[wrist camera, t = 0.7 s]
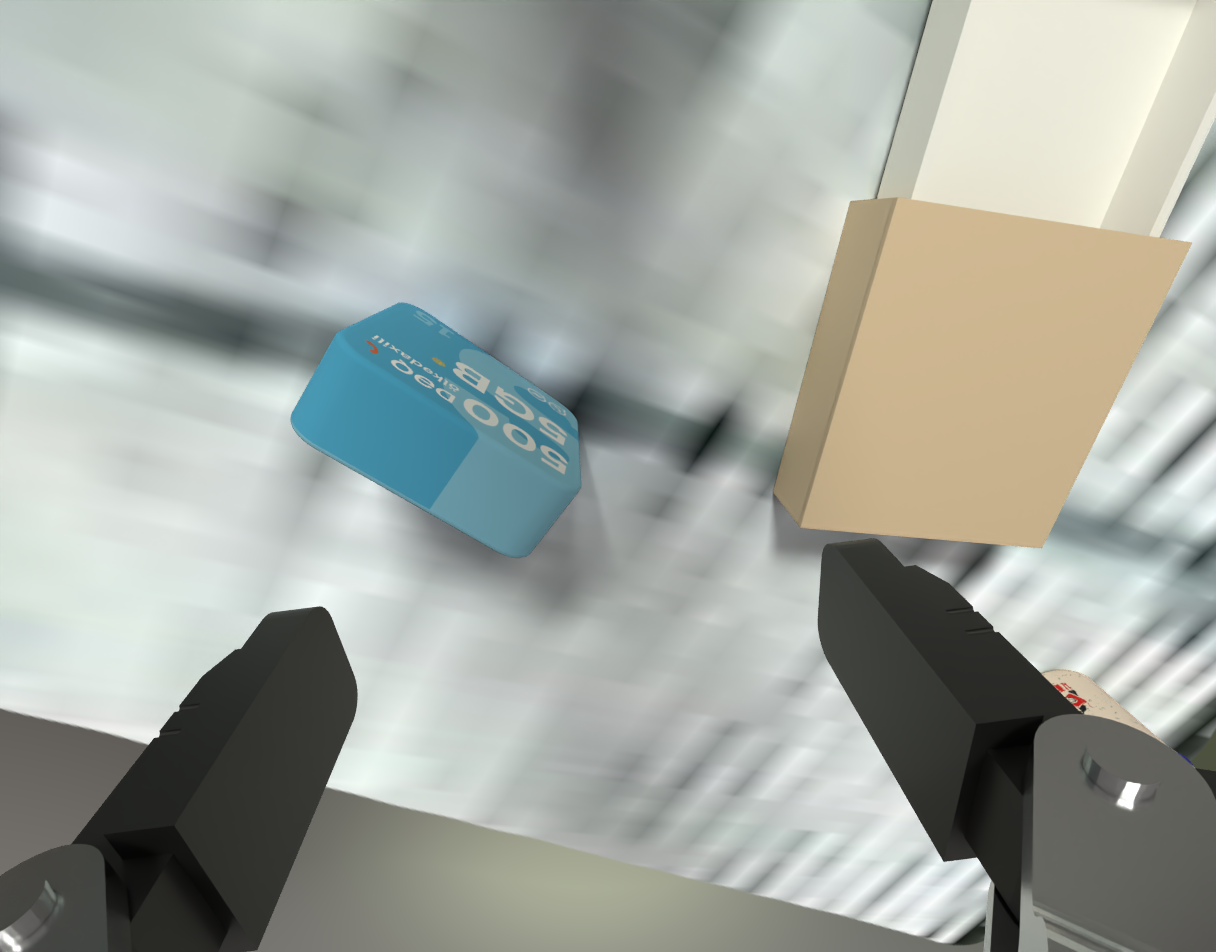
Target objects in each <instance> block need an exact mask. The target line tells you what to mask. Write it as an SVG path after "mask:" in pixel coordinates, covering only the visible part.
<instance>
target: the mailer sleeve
mask: <svg viewBox="0 0 1216 952" xmlns="http://www.w3.org/2000/svg"><path fill="white" fill-rule="evenodd" d="M1191 244H1192V243H1190V242H1184V241H1177V240H1171V239H1165V238H1158V237H1152V236H1145V235H1139V234H1132V233H1126V232H1119V231H1113V230H1106V229H1100V228H1093V227H1087V226H1081V225H1074V224H1068V223H1061V222H1055V221H1048V220H1042V219H1035V218H1029V217H1022V216H1016V215H1009V214H1003V213H997V212H990V211H984V210H977V209H971V208H964V207H958V206H951V205H945V204H938V203H932V202H925V201H919V200H912V199H906V198H900V197H895V198H882V199H870V200H857V201H851V202H850V205H849V209H848V213H847V217H846V220H845V224H844V228H843V232H842V235H841V239H840V243H839V247H838V250H837V254H836V258H835V262H834V265H833V269H832V273H831V277H830V280H829V284H828V288H827V292H826V295H825V299H824V303H823V307H822V310H821V314H820V318H819V322H818V325H817V329H816V333H815V337H814V340H813V344H812V348H811V352H810V355H809V359H808V363H807V367H806V370H805V374H804V378H803V382H802V385H801V389H800V393H799V397H798V400H797V404H796V408H795V412H794V415H793V419H792V423H791V427H790V430H789V434H788V438H787V442H786V445H785V449H784V453H783V457H782V460H781V464H780V468H779V472H778V475H777V479H776V483H775V487H774V490H773V493H774V494H775V495H776V497H777V498H778V499H779V501H780V502H781V503H782V505H783V506H784V507H785V508H786V510H787V511H788V512H789V514H790V515H791V516H792V518H793V519H794V520H795V522H796V523H797V524H798V525H799V527H800V528H807V529H819V530H831V531H843V532H855V533H867V534H879V535H890V536H902V537H914V538H926V539H938V540H950V541H962V542H973V543H985V544H997V545H1009V546H1021V547H1033V548H1042V547H1043V545H1044V543H1045V541H1046V539H1047V537H1048V535H1049V533H1050V531H1051V529H1052V527H1053V525H1054V523H1055V521H1056V519H1057V517H1058V515H1059V513H1060V511H1061V509H1062V507H1063V505H1064V503H1065V501H1066V499H1067V496H1068V494H1069V492H1070V490H1071V488H1072V486H1073V484H1074V482H1075V480H1076V478H1077V476H1078V474H1079V472H1080V470H1081V468H1082V466H1083V464H1084V462H1085V460H1086V458H1087V456H1088V454H1089V452H1090V450H1091V448H1092V446H1093V444H1094V442H1095V440H1096V438H1097V435H1098V433H1099V431H1100V429H1101V427H1102V425H1103V423H1104V421H1105V419H1106V417H1107V415H1108V413H1109V411H1110V409H1111V407H1112V405H1113V403H1114V401H1115V399H1116V397H1117V395H1118V393H1119V391H1120V389H1121V387H1122V385H1123V383H1124V381H1125V379H1126V377H1127V374H1128V372H1129V370H1130V368H1131V366H1132V364H1133V362H1134V360H1135V358H1136V356H1137V354H1138V352H1139V350H1140V348H1141V346H1142V344H1143V342H1144V340H1145V338H1146V336H1147V334H1148V332H1149V330H1150V328H1151V326H1152V324H1153V322H1154V320H1155V318H1156V315H1157V313H1158V311H1159V309H1160V307H1161V305H1162V303H1163V301H1164V299H1165V297H1166V295H1167V293H1168V291H1169V289H1170V287H1171V285H1172V283H1173V281H1174V279H1175V277H1176V275H1177V273H1178V271H1179V269H1180V267H1181V265H1182V263H1183V261H1184V259H1185V257H1186V254H1187V252H1188V250H1189V248H1190V246H1191Z"/></svg>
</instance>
